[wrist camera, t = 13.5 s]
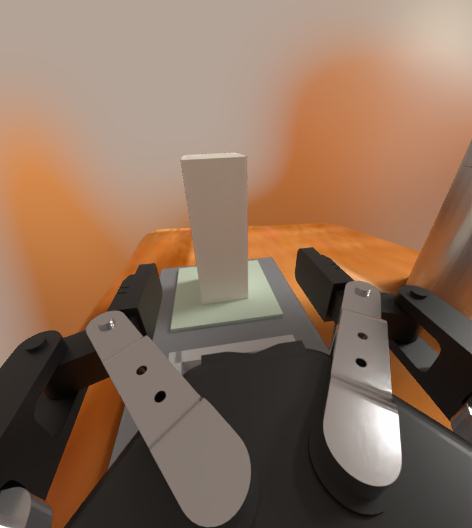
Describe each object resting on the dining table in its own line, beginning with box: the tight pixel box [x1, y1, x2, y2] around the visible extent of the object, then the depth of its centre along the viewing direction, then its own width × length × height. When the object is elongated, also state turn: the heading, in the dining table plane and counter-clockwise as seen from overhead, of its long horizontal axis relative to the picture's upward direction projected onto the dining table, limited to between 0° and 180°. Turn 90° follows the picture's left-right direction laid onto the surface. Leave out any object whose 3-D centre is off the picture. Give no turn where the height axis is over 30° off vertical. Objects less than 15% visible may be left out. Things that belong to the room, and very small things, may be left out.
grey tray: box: [108, 257, 329, 469], centre depth 19 cm, size 28×16×3 cm, turn 9°
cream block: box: [181, 153, 248, 305], centre depth 22 cm, size 5×5×14 cm
